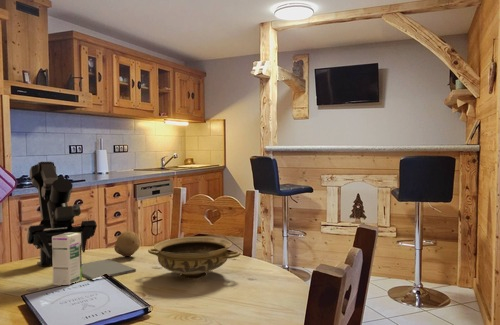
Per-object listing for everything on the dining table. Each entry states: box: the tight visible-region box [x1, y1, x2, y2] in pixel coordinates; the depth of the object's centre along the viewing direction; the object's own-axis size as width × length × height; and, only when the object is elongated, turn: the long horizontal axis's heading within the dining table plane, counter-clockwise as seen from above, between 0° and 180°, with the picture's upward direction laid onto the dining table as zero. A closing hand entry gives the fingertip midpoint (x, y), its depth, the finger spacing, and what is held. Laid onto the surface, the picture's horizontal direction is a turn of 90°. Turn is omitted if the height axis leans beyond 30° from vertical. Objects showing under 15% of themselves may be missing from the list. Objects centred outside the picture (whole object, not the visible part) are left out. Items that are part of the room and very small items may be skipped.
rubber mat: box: [82, 258, 137, 280], centre depth 126 cm, size 20×14×1 cm
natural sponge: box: [114, 230, 141, 257], centre depth 143 cm, size 9×9×10 cm
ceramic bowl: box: [147, 236, 241, 280], centre depth 118 cm, size 30×24×10 cm
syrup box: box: [52, 232, 83, 287], centre depth 112 cm, size 6×6×14 cm
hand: (67, 254), depth 112 cm, fingers open, 9 cm apart
